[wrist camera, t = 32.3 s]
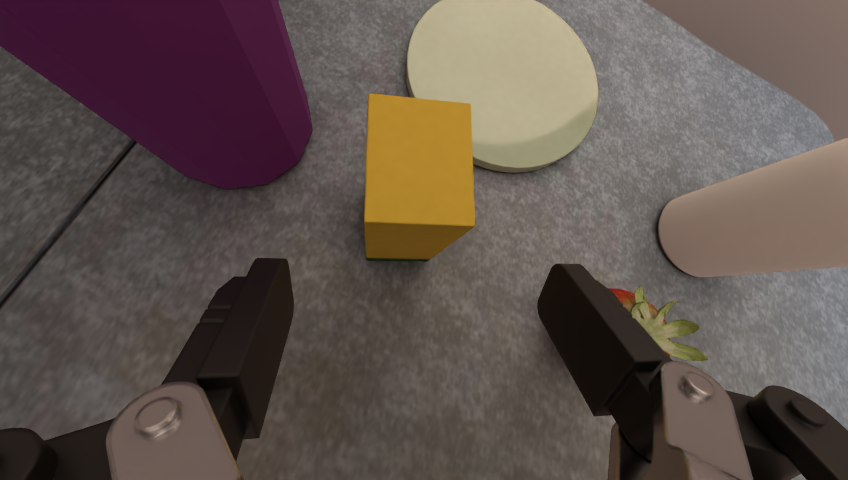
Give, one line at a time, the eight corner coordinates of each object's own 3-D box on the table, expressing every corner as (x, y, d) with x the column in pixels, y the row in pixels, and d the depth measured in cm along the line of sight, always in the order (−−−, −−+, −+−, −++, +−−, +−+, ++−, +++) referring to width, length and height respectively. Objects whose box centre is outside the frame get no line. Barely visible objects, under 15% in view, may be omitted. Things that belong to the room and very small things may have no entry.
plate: (363, 90, 23) (363, 79, 22) (473, -31, 27) (478, -46, 26) (532, 214, 23) (541, 209, 22) (617, 77, 27) (628, 67, 26)
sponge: (366, 260, 21) (363, 222, 11) (368, 186, 22) (368, 92, 12) (427, 261, 21) (476, 226, 12) (427, 190, 22) (471, 103, 13)
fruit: (614, 315, 23) (740, 321, 15) (587, 387, 22) (709, 433, 14) (554, 278, 23) (650, 265, 15) (522, 348, 21) (610, 373, 14)
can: (675, 181, 26) (921, 82, 14) (737, 232, 26) (1031, 174, 14) (639, 241, 24) (885, 183, 13) (705, 295, 24) (1010, 287, 13)
